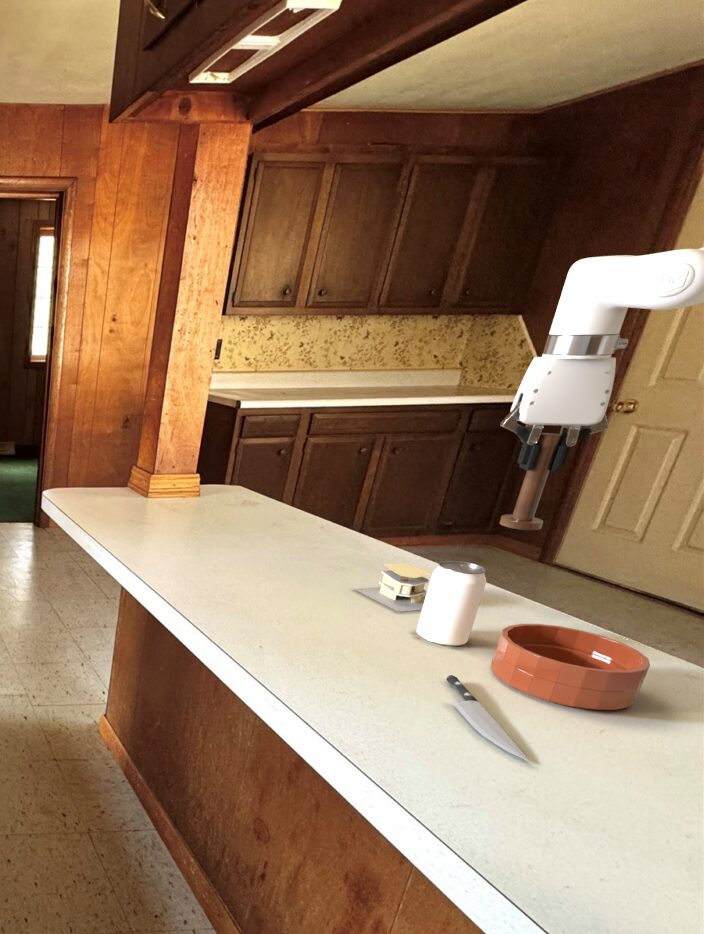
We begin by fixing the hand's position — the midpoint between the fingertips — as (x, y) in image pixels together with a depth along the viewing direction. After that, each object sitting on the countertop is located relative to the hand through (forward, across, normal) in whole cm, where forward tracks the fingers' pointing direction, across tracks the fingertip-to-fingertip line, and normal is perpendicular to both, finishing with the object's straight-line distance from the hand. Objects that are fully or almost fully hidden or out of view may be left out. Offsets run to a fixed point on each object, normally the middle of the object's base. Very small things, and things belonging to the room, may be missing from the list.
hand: (538, 468), depth 105 cm
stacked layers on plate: (+24, +14, +1) cm, 28 cm away
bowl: (+24, +2, +29) cm, 38 cm away
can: (+24, +12, +17) cm, 32 cm away
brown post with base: (+10, 0, 0) cm, 10 cm away
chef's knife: (+24, +15, +42) cm, 51 cm away
